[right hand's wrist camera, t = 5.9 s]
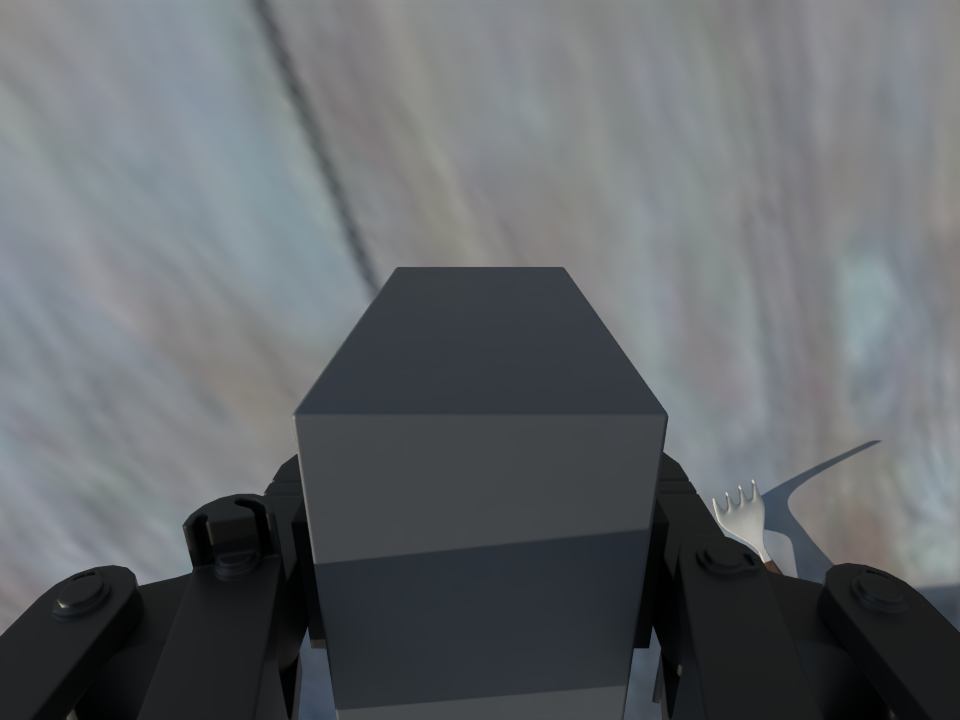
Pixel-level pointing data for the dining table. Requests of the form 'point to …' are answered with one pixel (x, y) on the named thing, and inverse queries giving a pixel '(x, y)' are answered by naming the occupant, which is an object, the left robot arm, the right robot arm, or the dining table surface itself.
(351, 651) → the bar
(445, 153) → the dining table surface
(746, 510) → the fork
